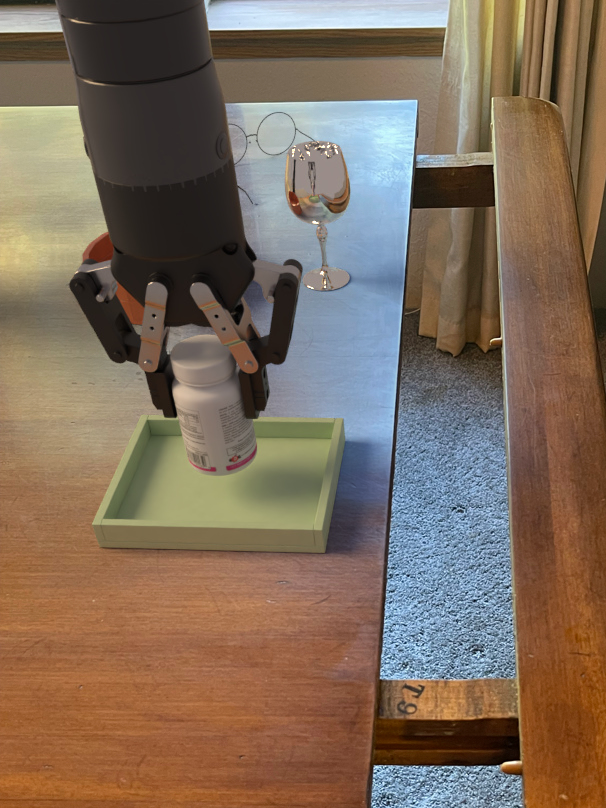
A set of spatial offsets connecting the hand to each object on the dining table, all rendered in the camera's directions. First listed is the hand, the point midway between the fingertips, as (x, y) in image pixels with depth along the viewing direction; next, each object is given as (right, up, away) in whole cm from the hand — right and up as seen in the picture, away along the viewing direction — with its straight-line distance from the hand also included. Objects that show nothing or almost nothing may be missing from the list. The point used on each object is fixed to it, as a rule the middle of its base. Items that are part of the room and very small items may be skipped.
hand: (213, 410), depth 63 cm
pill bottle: (0, -3, +3) cm, 4 cm away
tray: (0, -5, +5) cm, 7 cm away
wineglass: (+5, +16, +27) cm, 32 cm away
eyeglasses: (-2, +33, +45) cm, 56 cm away
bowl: (-10, +15, +26) cm, 32 cm away
